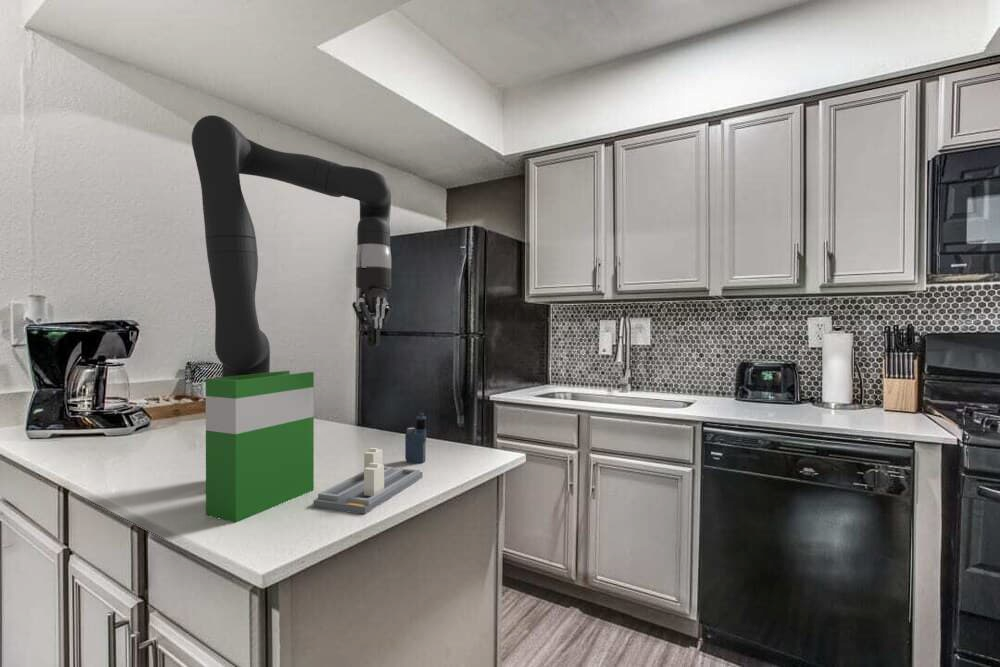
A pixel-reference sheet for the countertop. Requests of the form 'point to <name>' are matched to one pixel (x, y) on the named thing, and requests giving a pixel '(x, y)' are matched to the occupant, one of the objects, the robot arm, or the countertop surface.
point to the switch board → (352, 491)
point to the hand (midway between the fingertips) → (373, 345)
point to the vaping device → (416, 441)
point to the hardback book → (258, 442)
